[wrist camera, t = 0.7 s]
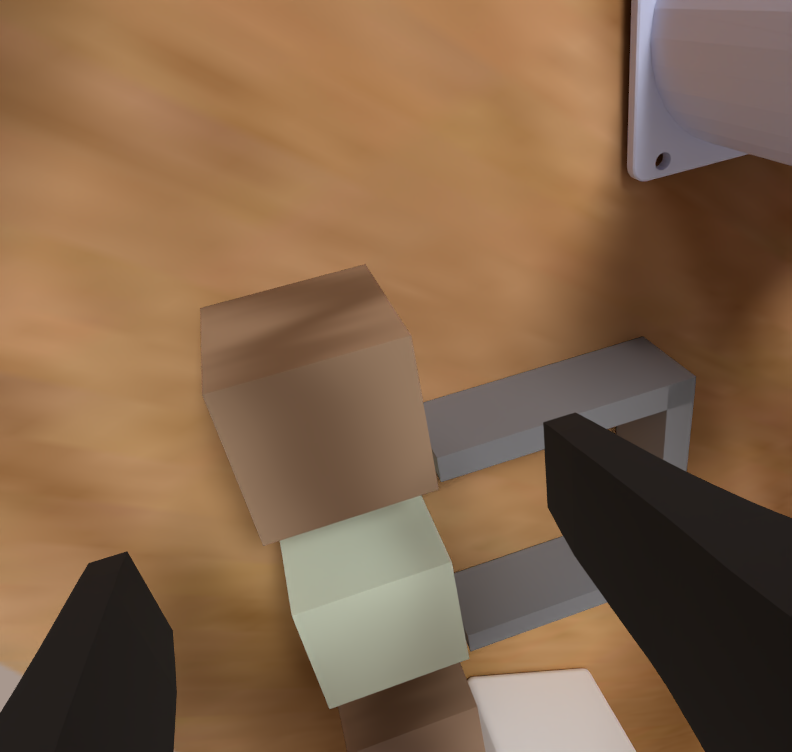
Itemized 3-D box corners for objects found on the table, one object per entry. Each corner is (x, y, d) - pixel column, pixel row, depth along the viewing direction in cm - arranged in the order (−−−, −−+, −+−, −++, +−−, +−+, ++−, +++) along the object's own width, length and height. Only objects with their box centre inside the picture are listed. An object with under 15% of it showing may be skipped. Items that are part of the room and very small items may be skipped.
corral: (643, 336, 24) (696, 376, 21) (634, 527, 29) (675, 577, 26) (409, 406, 22) (436, 458, 20) (445, 592, 28) (470, 651, 25)
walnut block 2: (435, 601, 28) (477, 706, 24) (449, 668, 31) (489, 773, 27) (324, 639, 27) (348, 754, 23) (348, 704, 30) (373, 818, 26)
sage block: (406, 462, 24) (451, 561, 20) (425, 554, 26) (469, 658, 22) (274, 504, 23) (291, 615, 19) (307, 594, 26) (329, 708, 22)
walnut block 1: (364, 263, 19) (411, 335, 15) (392, 397, 22) (438, 489, 18) (200, 307, 19) (202, 394, 15) (250, 439, 21) (263, 546, 17)
